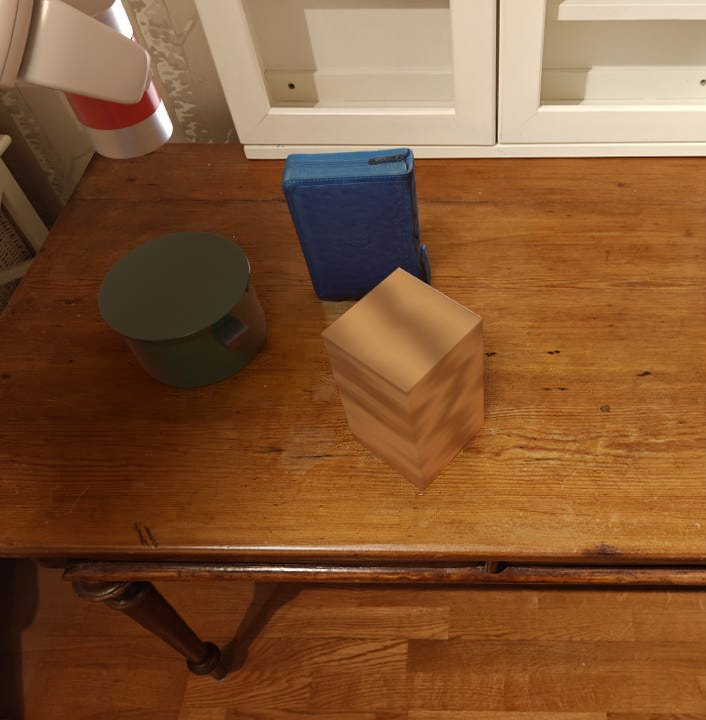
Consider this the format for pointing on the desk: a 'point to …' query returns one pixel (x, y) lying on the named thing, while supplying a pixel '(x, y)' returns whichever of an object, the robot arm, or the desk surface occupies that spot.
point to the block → (409, 375)
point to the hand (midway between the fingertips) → (107, 64)
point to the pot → (185, 308)
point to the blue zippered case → (355, 219)
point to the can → (115, 120)
